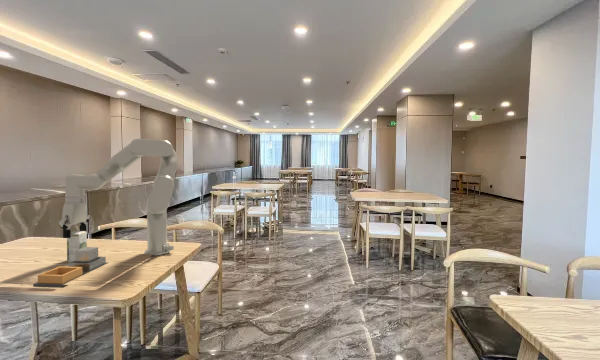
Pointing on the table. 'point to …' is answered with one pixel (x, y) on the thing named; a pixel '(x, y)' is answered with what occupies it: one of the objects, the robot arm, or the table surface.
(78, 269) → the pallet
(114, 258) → the table surface
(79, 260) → the block
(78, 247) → the syrup box
